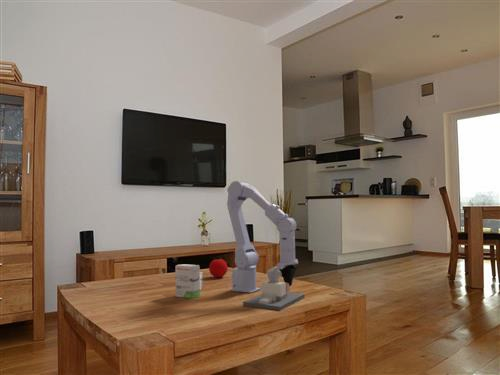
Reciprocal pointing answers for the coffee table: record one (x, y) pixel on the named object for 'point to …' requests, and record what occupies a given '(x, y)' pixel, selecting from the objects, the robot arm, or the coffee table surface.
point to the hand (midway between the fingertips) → (288, 285)
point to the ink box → (187, 281)
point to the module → (274, 289)
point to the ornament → (218, 268)
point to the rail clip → (287, 287)
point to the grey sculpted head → (274, 274)
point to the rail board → (273, 301)
